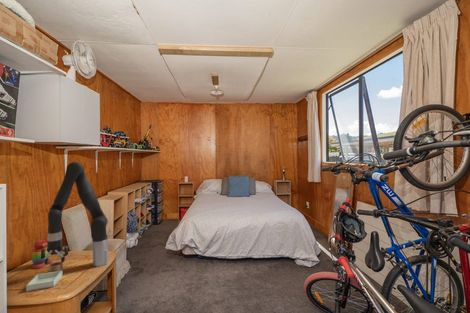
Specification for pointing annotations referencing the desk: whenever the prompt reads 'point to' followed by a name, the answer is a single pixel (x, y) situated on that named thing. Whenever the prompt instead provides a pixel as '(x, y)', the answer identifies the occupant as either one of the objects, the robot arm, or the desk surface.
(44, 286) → the green crate
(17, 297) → the desk surface
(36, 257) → the stacking bear
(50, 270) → the oak crate
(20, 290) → the desk surface
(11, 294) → the desk surface
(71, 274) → the desk surface
